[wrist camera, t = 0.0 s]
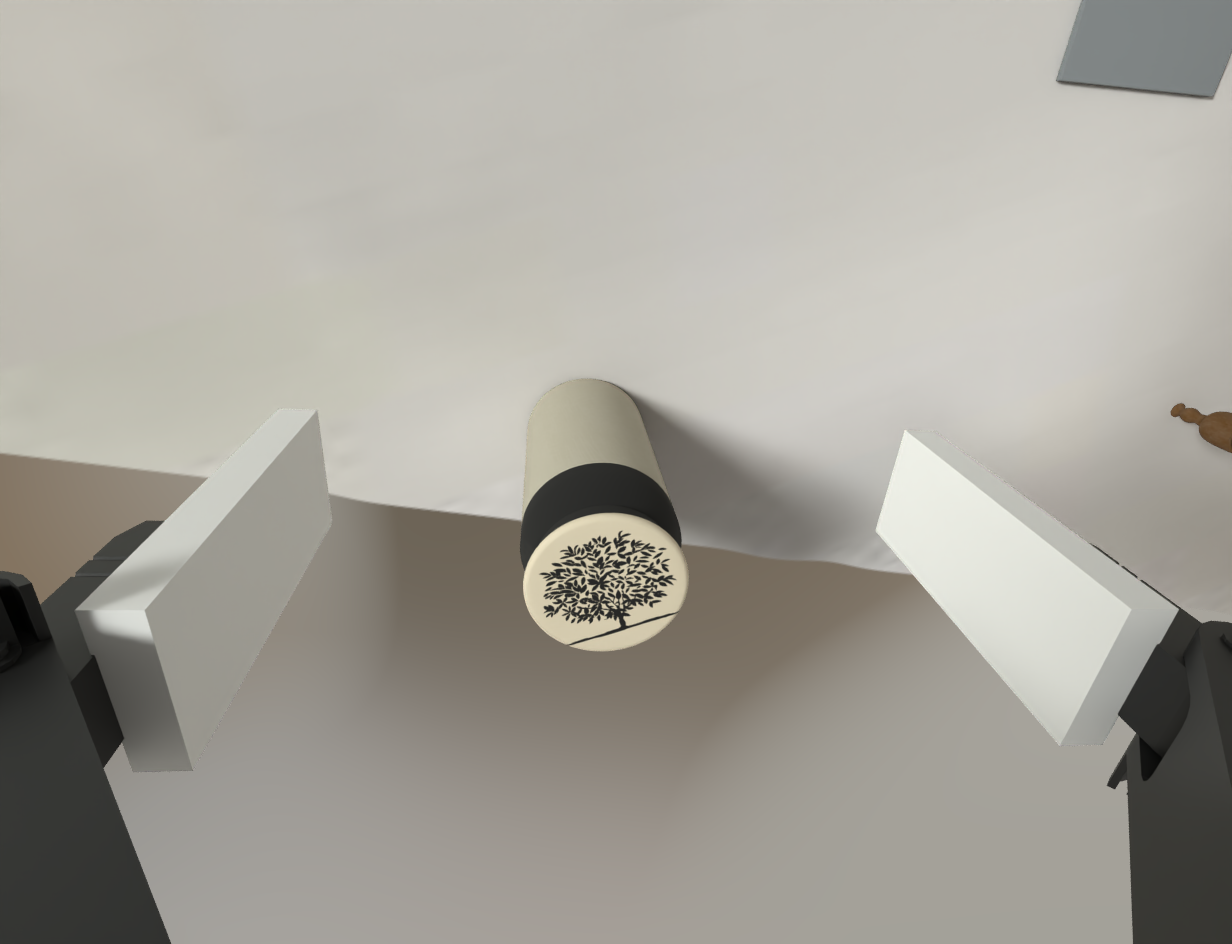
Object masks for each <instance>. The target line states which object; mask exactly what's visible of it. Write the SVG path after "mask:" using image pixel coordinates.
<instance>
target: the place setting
mask: <svg viewBox="0 0 1232 944" xmlns="http://www.w3.org/2000/svg"><path fill="white" fill-rule="evenodd" d="M1171 415H1172V416H1173V417H1178V416H1180V417H1181V419H1182V420H1183V421H1185V422H1188V423H1196V424H1197V425H1199V433H1200V435H1201V436H1202V438H1203V439H1205V440H1206V441H1207V442H1209V443H1211V444H1213V445H1215V446H1217V447H1219V448H1221V449H1223V450H1225V451H1228V452H1230V453H1232V413H1229V412H1215V413H1212V414H1210V415H1208V416H1207V415H1202V414H1201V413H1200V412H1199V411H1198V410H1196V409H1194V408H1186V409H1185V405H1184V404H1182V403H1180V404H1177V405H1175V406H1174V407H1173V408H1172V410H1171Z"/></svg>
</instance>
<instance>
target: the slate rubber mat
mask: <svg viewBox="0 0 1232 944" xmlns="http://www.w3.org/2000/svg"><path fill="white" fill-rule="evenodd" d="M1231 52H1232V0H1082V2H1081V5H1080V8H1079V11H1078V14H1077V17H1076V20H1075V23H1074V27H1073V30H1072V33H1071V36H1070V39H1069V42H1068V45H1067V48H1066V52H1065V55H1064V58H1063V61H1062V64H1061V67H1060V70H1059V73H1058V77H1057V80H1056V81H1064V82H1073V83H1083V84H1092V85H1101V86H1111V87H1120V88H1130V89H1139V90H1149V91H1158V92H1168V93H1177V94H1187V95H1196V96H1206V97H1209V96H1214V93H1215V91H1216V89H1217V86H1218V84H1219V81H1220V79H1221V76H1222V74H1223V72H1224V69H1225V67H1226V64H1227V62H1228V60H1229V57H1230V55H1231Z"/></svg>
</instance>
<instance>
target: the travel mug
mask: <svg viewBox="0 0 1232 944" xmlns="http://www.w3.org/2000/svg"><path fill="white" fill-rule="evenodd" d="M521 527H522V528H521V542H520V553H521V560H522V564H523V567H524V570H525V574H524V582H523V591H524V598H525V602H526V605H527V607H528V610H529V612H530V614H531V616H532V617H533V619H534V620H535V621H536V623H537V624H538V625H539V626H540V628H542V629H543V630H544V631H545V632H546V633H547V634H548V635H550V636H551V637H553V638H554V639H556V640H558V641H560V642H562V643H564V644H566V645H569V646H571V647H575V648H579V649H584V650H590V651H613V650H619V649H624V648H628V647H631V646H634V645H637V644H639V643H642V642H644V641H646V640H648V639H650V638H652V637H653V636H655V635H656V634H658V633H659V632H660V631H662V630H663V629H664V628H665V627H666V626H667V625H668V624H669V623H670V622H671V621H672V620H673V619H674V617H675V616H676V615H677V613H678V611H679V610H680V609H681V607H682V605H683V602H684V600H685V597H686V594H687V590H688V583H689V573H688V566H687V562H686V559H685V557H684V554H683V552H682V550H681V531H680V526H679V523H678V520H677V517H676V514H675V512H674V509H673V506H672V503H671V500H670V497H669V494H668V492H667V489H666V486H665V483H664V480H663V477H662V475H661V472H660V469H659V466H658V463H657V460H656V458H655V455H654V452H653V449H652V446H651V443H650V441H649V438H648V435H647V432H646V429H645V426H644V424H643V421H642V418H641V415H640V413H639V410H638V408H637V406H636V405H635V403H634V402H633V400H632V399H631V398H630V397H629V396H628V395H627V394H626V393H625V392H624V391H622V390H621V389H620V388H618V387H616V386H614V385H612V384H610V383H608V382H605V381H601V380H596V379H577V380H572V381H568V382H565V383H563V384H560V385H558V386H556V387H555V388H553V389H551V390H550V391H549V392H547V393H546V394H545V395H544V396H543V397H542V398H541V399H540V400H539V402H538V403H537V404H536V406H535V407H534V409H533V411H532V413H531V416H530V419H529V423H528V431H527V447H526V463H525V478H524V494H523V510H522V526H521Z"/></svg>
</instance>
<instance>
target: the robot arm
mask: <svg viewBox="0 0 1232 944" xmlns="http://www.w3.org/2000/svg"><path fill="white" fill-rule="evenodd" d="M331 524H332V517H331V509H330V502H329V494H328V486H327V479H326V472H325V464H324V457H323V449H322V442H321V434H320V427H319V419H318V412H317V410H305V409H278V410H277V411H276V412H275V413H274V414H273V415H272V416H271V417H270V418H269V419H268V420H267V421H266V422H265V423H264V424H263V425H262V426H261V427H260V428H259V429H258V430H257V431H256V432H255V433H254V434H253V435H252V436H251V437H249V438H248V439H247V440H246V441H245V442H244V443H243V444H242V445H241V446H240V447H239V448H238V449H237V450H236V451H235V452H234V453H233V454H232V455H231V456H230V457H229V458H228V459H227V460H226V461H225V462H224V463H223V464H222V465H221V466H220V467H219V468H218V469H217V470H216V471H215V472H214V473H213V474H212V475H211V476H210V477H209V478H208V479H207V480H206V481H205V482H204V483H203V484H202V485H201V486H200V487H199V488H198V489H197V490H196V491H195V492H194V493H193V494H192V495H191V496H190V497H189V498H188V499H187V500H186V501H185V502H184V503H183V504H182V505H181V506H180V507H179V508H178V509H177V510H176V511H175V512H174V513H173V514H172V515H171V516H170V517H169V518H168V519H167V520H166V521H145V522H143V523H141V524H139V525H137V526H135V527H133V528H131V529H129V530H128V531H126V532H124V533H122V534H120V535H118V536H116V537H114V538H113V539H112V540H111V541H110V542H109V543H108V544H107V545H105V546H104V547H103V548H102V549H101V550H100V551H99V552H98V553H97V554H95V555H94V557H93V560H89V561H88V562H87V563H86V564H85V565H83V566H82V567H81V568H80V569H79V570H78V571H77V572H76V575H75V577H70V578H69V579H68V580H67V581H66V582H65V583H64V584H63V585H62V586H61V587H59V588H58V589H57V590H56V591H55V592H54V593H53V594H52V595H51V596H49V597H48V598H47V599H46V600H45V601H44V602H43V603H42V604H41V605H40V604H39V601H38V598H37V596H36V593H35V591H34V588H33V585H32V583H31V582H30V581H29V580H28V579H27V578H25V577H24V576H23V575H21V574H15V573H10V572H5V571H0V944H171V942H170V939H169V937H168V934H167V932H166V929H165V926H164V924H163V921H162V919H161V916H160V914H159V911H158V908H157V906H156V903H155V901H154V898H153V895H152V893H151V890H150V888H149V885H148V882H147V880H146V877H145V875H144V872H143V869H142V867H141V864H140V862H139V860H138V857H137V854H136V851H135V849H134V846H133V844H132V841H131V839H130V836H129V833H128V831H127V828H126V826H125V823H124V820H123V818H122V815H121V813H120V810H119V808H118V805H117V802H116V800H115V797H114V795H113V792H112V790H111V787H110V784H109V782H108V779H107V776H106V774H105V771H104V769H103V768H104V767H105V765H106V764H107V762H108V761H109V760H110V758H111V757H112V755H113V754H114V752H115V751H116V749H117V748H118V747H119V745H120V744H121V743H123V746H124V749H125V751H126V754H127V757H128V760H129V763H130V765H131V768H132V771H133V772H161V771H193V769H194V768H195V766H196V764H197V762H198V761H199V759H200V757H201V755H202V754H203V752H204V750H205V748H206V746H207V745H208V743H209V741H210V739H211V738H212V736H213V734H214V732H215V731H216V729H217V727H218V725H219V723H220V722H221V720H222V718H223V716H224V714H225V713H226V711H227V709H228V708H229V706H230V704H231V702H232V700H233V699H234V697H235V695H236V693H237V692H238V690H239V688H240V686H241V684H242V683H243V681H244V679H245V677H246V675H247V674H248V672H249V670H250V668H251V667H252V665H253V663H254V661H255V659H256V658H257V656H258V654H259V652H260V651H261V649H262V647H263V645H264V643H265V642H266V640H267V638H268V637H269V635H270V633H271V631H272V629H273V628H274V626H275V624H276V622H277V621H278V619H279V617H280V615H281V613H282V612H283V610H284V608H285V606H286V604H287V603H288V601H289V599H290V597H291V595H292V594H293V592H294V590H295V588H296V587H297V585H298V583H299V581H300V580H301V578H302V576H303V574H304V573H305V571H306V569H307V567H308V565H309V564H310V562H311V560H312V558H313V556H314V555H315V553H316V551H317V550H318V548H319V546H320V544H321V542H322V541H323V539H324V537H325V535H326V533H327V532H328V530H329V528H330V526H331ZM876 532H877V533H878V534H879V535H880V537H881V538H882V539H883V540H884V541H885V542H886V544H887V545H888V546H889V547H890V548H891V549H892V551H893V552H894V553H895V554H896V555H897V556H898V558H899V559H900V560H901V561H902V562H903V563H904V565H905V566H906V567H907V568H908V569H909V570H910V572H911V573H912V574H913V575H914V576H915V577H916V579H917V580H918V581H919V582H920V583H921V585H922V586H923V587H924V588H925V589H926V590H927V592H928V593H929V594H930V595H931V596H932V597H933V598H934V600H935V601H936V602H937V603H938V604H939V605H940V607H941V608H942V609H943V610H944V611H945V613H946V614H947V615H948V616H949V617H950V618H951V619H952V621H953V622H954V623H955V624H956V625H957V627H958V628H959V629H960V630H961V631H962V632H963V634H964V635H965V636H966V637H967V638H968V639H969V641H970V642H971V643H972V644H973V645H974V646H975V648H976V649H977V650H978V651H979V652H980V653H981V655H982V656H983V657H984V658H985V659H986V660H987V661H988V663H989V664H990V665H991V666H992V667H993V668H994V670H995V671H996V672H997V673H998V674H999V675H1000V677H1001V678H1002V679H1003V680H1004V681H1005V683H1006V684H1007V685H1008V686H1009V687H1010V688H1011V689H1012V691H1013V692H1014V693H1015V694H1016V695H1017V697H1018V698H1019V699H1020V700H1021V701H1022V702H1023V704H1024V705H1025V706H1026V707H1027V708H1028V709H1029V711H1030V712H1031V713H1032V714H1033V715H1034V716H1035V717H1036V719H1037V720H1038V721H1039V722H1040V723H1041V725H1042V726H1043V727H1044V728H1045V729H1046V730H1047V732H1048V733H1049V734H1050V735H1051V736H1052V737H1053V739H1054V740H1055V741H1056V742H1057V743H1058V744H1059V746H1078V745H1103V743H1104V741H1105V740H1106V738H1107V736H1108V734H1109V733H1110V731H1111V729H1112V727H1113V726H1114V724H1115V722H1116V720H1117V718H1118V717H1119V716H1120V717H1121V718H1122V719H1123V720H1124V721H1125V722H1126V723H1127V724H1128V725H1129V726H1130V727H1131V728H1132V729H1133V730H1134V731H1135V732H1136V735H1135V736H1134V738H1133V740H1132V741H1131V743H1130V745H1129V746H1128V748H1127V750H1126V752H1125V753H1124V755H1123V757H1122V758H1121V760H1120V762H1119V763H1118V765H1117V767H1116V768H1115V770H1114V772H1113V773H1112V775H1111V777H1110V779H1109V781H1108V784H1107V786H1109V787H1111V788H1113V789H1115V788H1116V787H1117V785H1118V784H1119V782H1120V781H1124V780H1127V783H1128V793H1127V795H1128V813H1129V839H1130V869H1131V894H1132V895H1131V898H1132V926H1133V944H1232V623H1229V622H1218V621H1209V622H1206V623H1200V622H1199V621H1198V620H1196V619H1195V618H1194V617H1192V616H1191V615H1189V614H1188V613H1187V612H1185V611H1184V610H1183V609H1181V608H1180V607H1179V606H1177V605H1176V604H1174V603H1173V602H1172V601H1170V600H1169V599H1168V598H1166V597H1165V596H1163V595H1162V594H1161V593H1159V592H1158V591H1157V590H1155V589H1154V588H1152V587H1151V586H1150V585H1148V584H1147V583H1146V582H1144V581H1143V580H1138V579H1137V576H1136V575H1135V574H1133V573H1132V572H1130V571H1129V570H1128V569H1126V568H1125V567H1124V566H1119V563H1118V562H1117V561H1115V560H1114V559H1113V558H1111V557H1110V556H1109V555H1107V554H1106V553H1104V552H1103V551H1102V550H1100V549H1099V548H1098V547H1096V546H1094V545H1092V544H1090V543H1088V542H1086V541H1085V540H1084V539H1082V538H1081V537H1080V536H1078V535H1077V534H1075V533H1074V532H1073V531H1071V530H1070V529H1069V528H1067V527H1066V526H1065V525H1063V524H1062V523H1060V522H1059V521H1058V520H1056V519H1055V518H1054V517H1052V516H1051V515H1050V514H1048V513H1047V512H1045V511H1044V510H1043V509H1041V508H1040V507H1039V506H1037V505H1036V504H1035V503H1033V502H1032V501H1030V500H1029V499H1028V498H1026V497H1025V496H1024V495H1022V494H1021V493H1019V492H1018V491H1017V490H1015V489H1014V488H1013V487H1011V486H1010V485H1009V484H1007V483H1006V482H1004V481H1003V480H1002V479H1000V478H999V477H998V476H996V475H995V474H994V473H992V472H991V471H989V470H988V469H987V468H985V467H984V466H983V465H981V464H980V463H979V462H977V461H976V460H974V459H973V458H972V457H970V456H969V455H968V454H966V453H965V452H963V451H962V450H961V449H959V448H958V447H957V446H955V445H954V444H953V443H951V442H950V441H948V440H947V439H946V438H944V437H943V436H942V435H940V434H939V433H938V432H936V431H920V430H905V431H904V435H903V438H902V442H901V445H900V449H899V452H898V455H897V459H896V462H895V466H894V469H893V473H892V476H891V479H890V483H889V486H888V490H887V493H886V497H885V500H884V503H883V507H882V510H881V514H880V517H879V521H878V524H877V527H876Z"/></svg>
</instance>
